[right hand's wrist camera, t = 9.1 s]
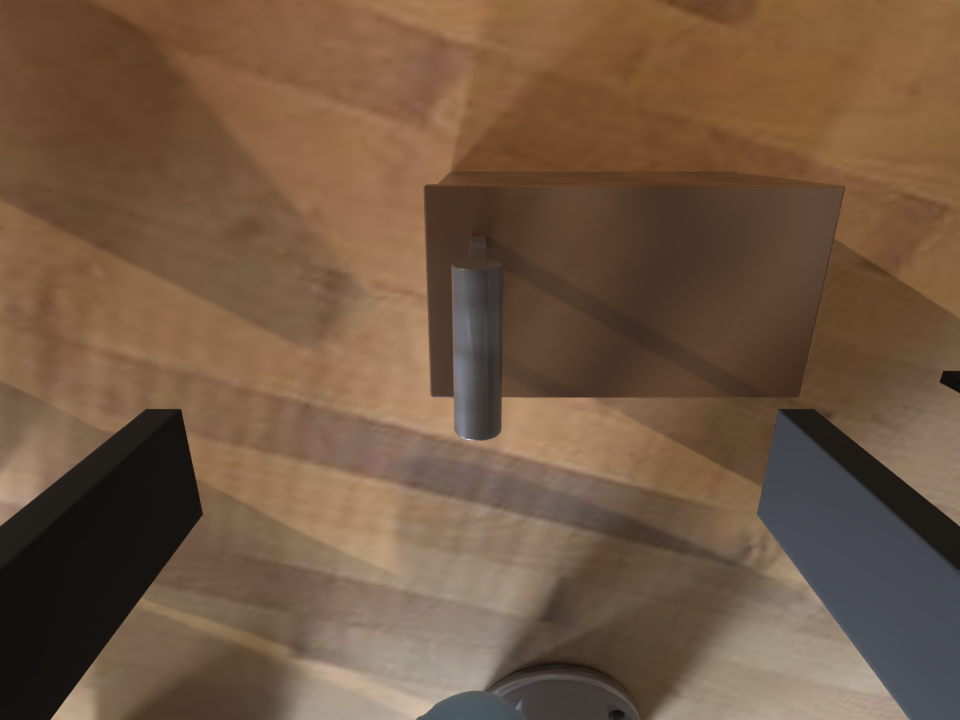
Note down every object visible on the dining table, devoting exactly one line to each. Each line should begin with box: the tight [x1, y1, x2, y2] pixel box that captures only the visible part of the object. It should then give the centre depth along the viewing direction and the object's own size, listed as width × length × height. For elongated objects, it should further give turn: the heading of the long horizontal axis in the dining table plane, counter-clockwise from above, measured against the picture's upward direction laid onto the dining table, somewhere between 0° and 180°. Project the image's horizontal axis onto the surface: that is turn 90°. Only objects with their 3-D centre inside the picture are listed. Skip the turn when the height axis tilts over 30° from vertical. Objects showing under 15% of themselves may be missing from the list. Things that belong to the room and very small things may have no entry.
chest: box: [439, 172, 823, 184], centre depth 32 cm, size 17×10×10 cm, turn 90°
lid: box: [424, 184, 845, 441], centre depth 23 cm, size 18×10×9 cm, turn 90°
